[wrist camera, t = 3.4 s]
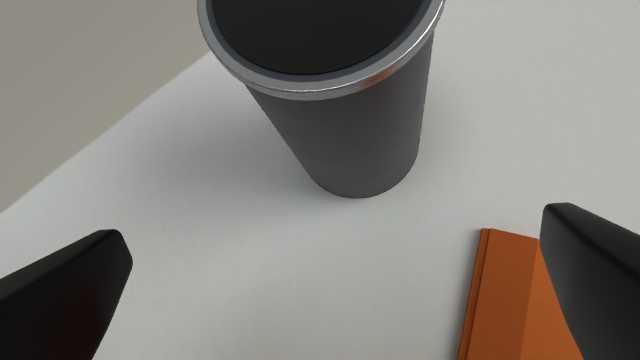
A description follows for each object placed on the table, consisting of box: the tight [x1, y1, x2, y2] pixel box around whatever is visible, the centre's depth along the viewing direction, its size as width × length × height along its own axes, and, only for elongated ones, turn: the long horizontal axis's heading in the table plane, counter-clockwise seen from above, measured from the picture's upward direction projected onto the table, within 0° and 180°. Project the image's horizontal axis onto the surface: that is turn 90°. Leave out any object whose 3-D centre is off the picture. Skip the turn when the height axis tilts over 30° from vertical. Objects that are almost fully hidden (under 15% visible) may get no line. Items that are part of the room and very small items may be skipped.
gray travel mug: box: [197, 0, 446, 198], centre depth 18 cm, size 11×7×13 cm, turn 1°
